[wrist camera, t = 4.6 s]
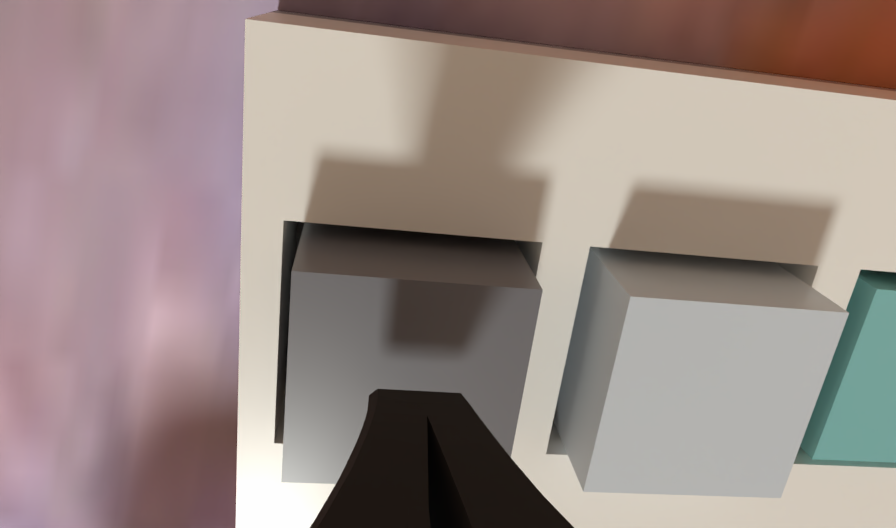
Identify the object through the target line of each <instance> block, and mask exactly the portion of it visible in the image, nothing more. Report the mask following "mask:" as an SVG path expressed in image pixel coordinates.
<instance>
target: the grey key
mask: <svg viewBox="0 0 896 528" xmlns="http://www.w3.org/2000/svg"><path fill="white" fill-rule="evenodd" d="M848 315H849V312H847V311H846V310H844V309H843V308H841V307H840V306H839V305H837V304H836V303H834V302H833V301H831V300H830V299H828V298H827V297H825V296H824V295H822V294H821V293H819V292H818V291H817V290H815V289H814V288H812V287H811V286H809V285H808V284H806V283H805V282H803V281H802V280H800V279H799V278H797V277H796V276H795V275H793V274H792V273H790V272H789V271H787V270H786V269H784V268H783V267H781V266H780V265H778V264H777V263H775V262H767V261H755V260H744V259H732V258H720V257H708V256H697V255H685V254H673V253H661V252H650V251H638V250H626V249H614V248H603V247H591V246H590V249H589V254H588V259H587V263H586V268H585V273H584V278H583V282H582V287H581V292H580V296H579V301H578V306H577V310H576V315H575V320H574V325H573V329H572V334H571V339H570V343H569V348H568V353H567V357H566V362H565V367H564V372H563V376H562V381H561V386H560V390H559V395H558V400H557V405H556V409H555V414H554V419H553V421H554V424H555V426H556V428H557V431H558V433H559V435H560V438H561V440H562V442H563V445H564V447H565V450H566V452H567V454H568V457H569V459H570V461H571V464H572V466H573V468H574V471H575V473H576V476H577V478H578V480H579V483H580V485H581V487H582V490H583V492H604V493H635V494H666V495H698V496H729V497H761V498H781V496H782V493H783V491H784V488H785V485H786V483H787V480H788V477H789V474H790V472H791V469H792V466H793V464H794V461H795V458H796V456H797V453H798V450H799V447H800V445H801V442H802V439H803V437H804V434H805V431H806V429H807V426H808V423H809V420H810V418H811V415H812V412H813V410H814V407H815V404H816V401H817V399H818V396H819V393H820V391H821V388H822V385H823V383H824V380H825V377H826V374H827V372H828V369H829V366H830V364H831V361H832V358H833V355H834V353H835V350H836V347H837V345H838V342H839V339H840V337H841V334H842V331H843V328H844V326H845V323H846V320H847V318H848Z"/></svg>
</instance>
